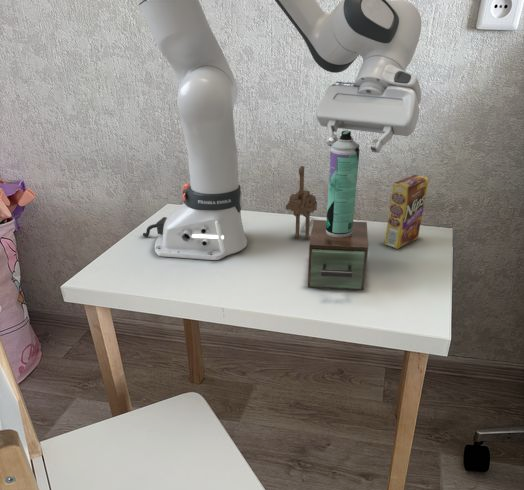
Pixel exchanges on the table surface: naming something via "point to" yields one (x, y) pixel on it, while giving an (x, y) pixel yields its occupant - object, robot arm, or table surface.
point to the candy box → (406, 211)
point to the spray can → (342, 186)
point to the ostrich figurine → (302, 205)
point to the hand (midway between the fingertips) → (352, 147)
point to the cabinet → (338, 244)
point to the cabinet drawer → (337, 268)
